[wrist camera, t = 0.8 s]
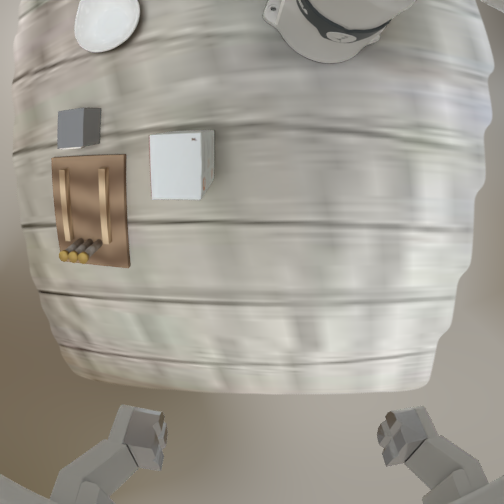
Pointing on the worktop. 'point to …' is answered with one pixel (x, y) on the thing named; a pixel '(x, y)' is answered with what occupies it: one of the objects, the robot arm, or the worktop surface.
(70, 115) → the grey block
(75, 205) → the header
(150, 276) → the worktop surface
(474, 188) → the worktop surface
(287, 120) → the worktop surface
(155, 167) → the small box
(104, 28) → the spoon rest
